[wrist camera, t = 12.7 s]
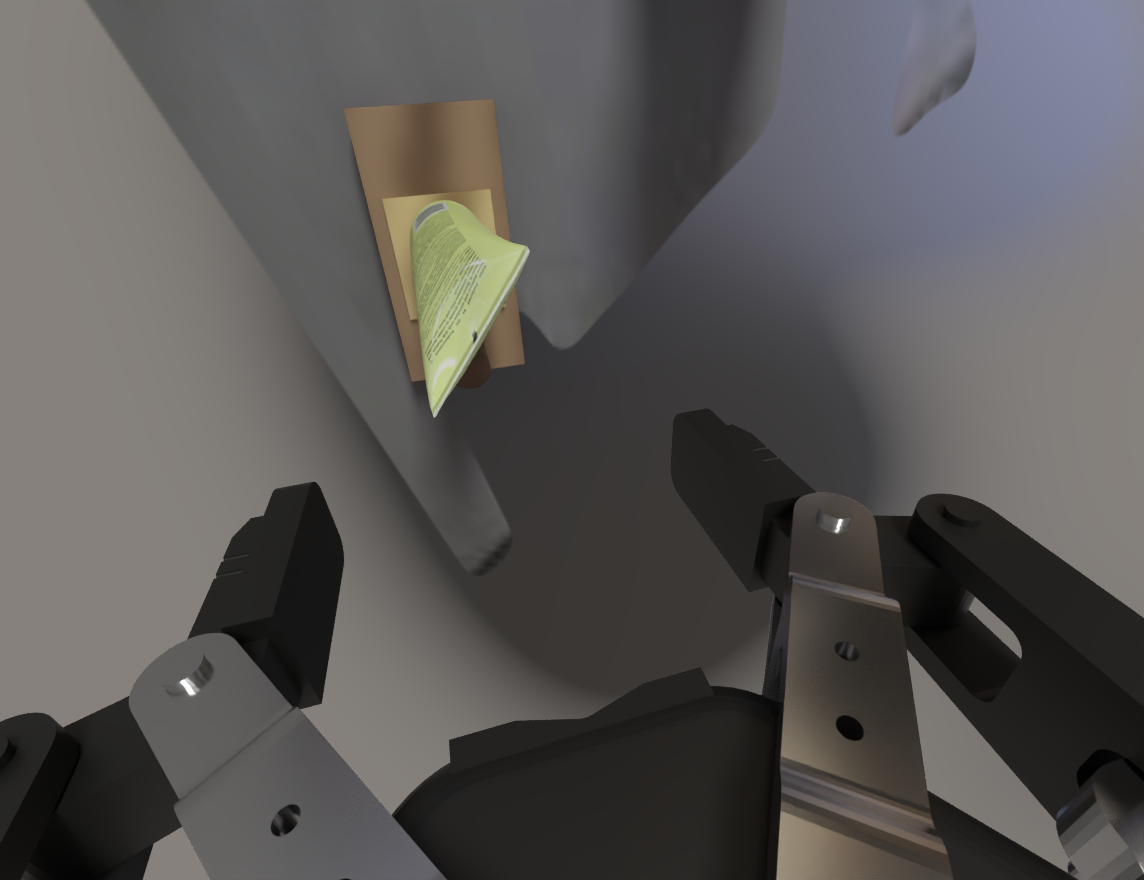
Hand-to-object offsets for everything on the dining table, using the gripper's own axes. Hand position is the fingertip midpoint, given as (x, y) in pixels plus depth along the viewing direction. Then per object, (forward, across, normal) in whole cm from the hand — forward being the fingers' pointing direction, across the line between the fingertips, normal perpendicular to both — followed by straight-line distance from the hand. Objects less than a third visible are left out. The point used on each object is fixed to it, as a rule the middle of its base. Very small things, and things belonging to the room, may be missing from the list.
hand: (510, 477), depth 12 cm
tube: (+29, 0, 0) cm, 29 cm away
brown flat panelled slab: (+32, 0, +1) cm, 32 cm away
